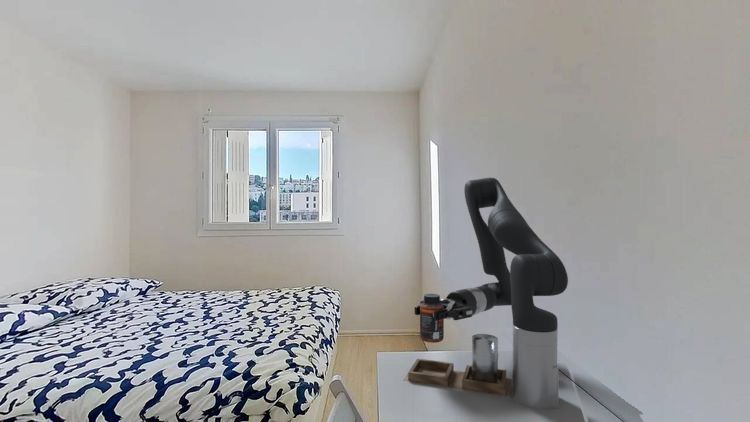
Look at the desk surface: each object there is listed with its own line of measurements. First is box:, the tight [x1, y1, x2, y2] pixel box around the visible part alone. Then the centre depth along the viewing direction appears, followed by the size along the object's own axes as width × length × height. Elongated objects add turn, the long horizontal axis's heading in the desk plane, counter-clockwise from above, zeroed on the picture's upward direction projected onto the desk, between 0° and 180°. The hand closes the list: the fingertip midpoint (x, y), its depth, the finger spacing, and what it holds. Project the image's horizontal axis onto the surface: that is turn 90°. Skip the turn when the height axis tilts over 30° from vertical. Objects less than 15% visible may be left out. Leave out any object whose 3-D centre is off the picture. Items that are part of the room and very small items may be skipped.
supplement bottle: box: [419, 293, 445, 344], centre depth 100 cm, size 6×6×11 cm
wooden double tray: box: [403, 358, 512, 398], centre depth 97 cm, size 25×10×3 cm, turn 70°
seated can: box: [471, 333, 499, 384], centre depth 95 cm, size 6×6×11 cm
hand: (425, 313), depth 98 cm, fingers closed on supplement bottle, 6 cm apart
